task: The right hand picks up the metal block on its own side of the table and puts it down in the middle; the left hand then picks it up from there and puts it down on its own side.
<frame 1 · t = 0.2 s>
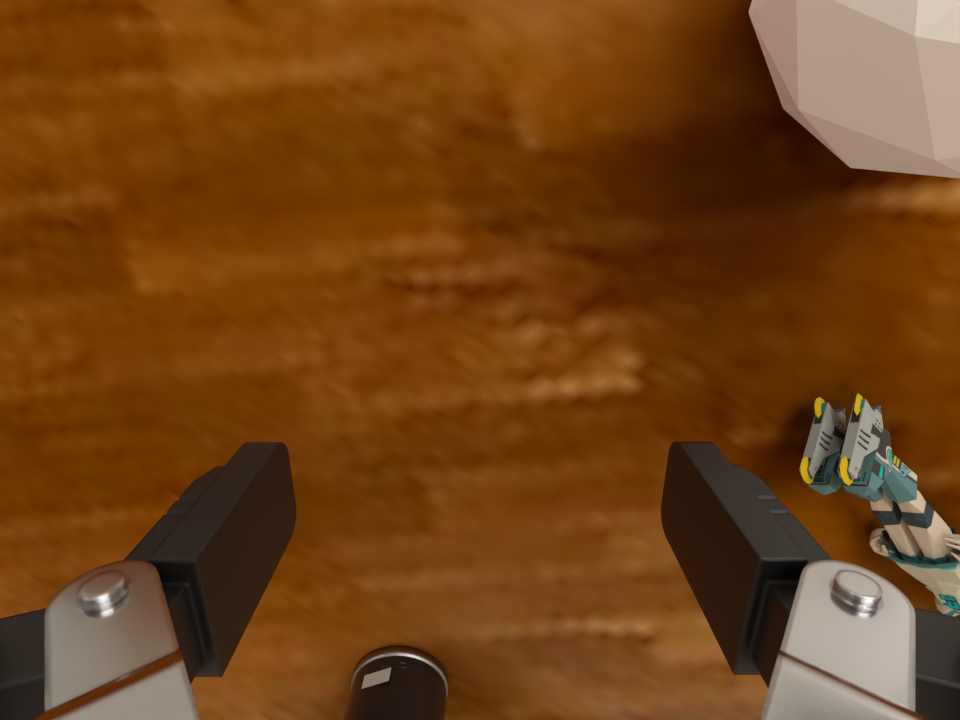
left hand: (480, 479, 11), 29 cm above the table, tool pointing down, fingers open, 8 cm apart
sphere: (860, 0, 33), on the table
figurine: (897, 508, 46), on the table
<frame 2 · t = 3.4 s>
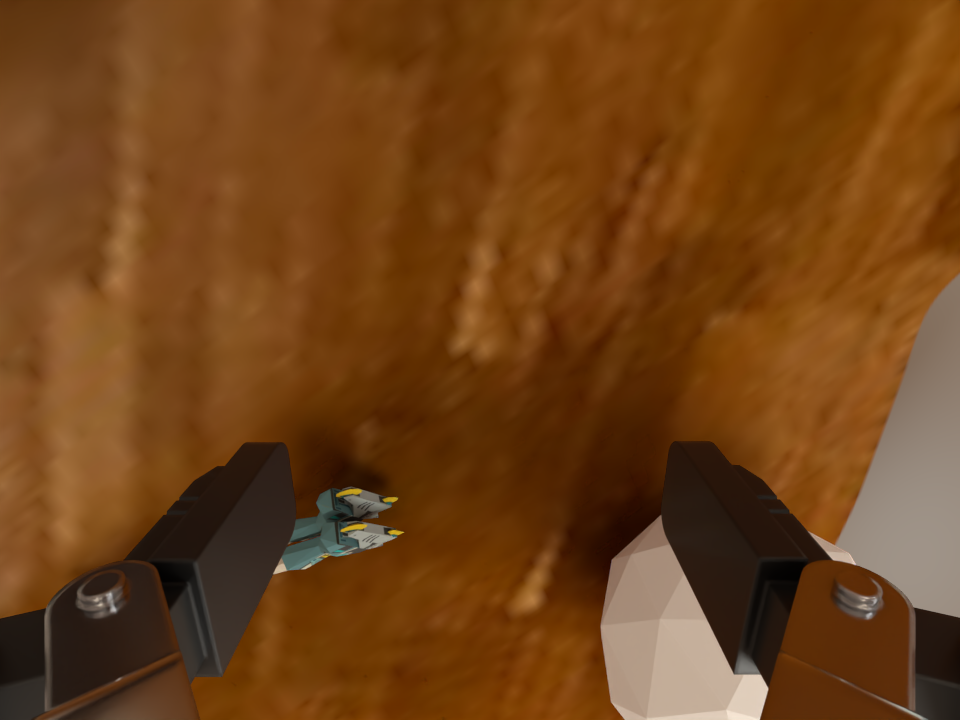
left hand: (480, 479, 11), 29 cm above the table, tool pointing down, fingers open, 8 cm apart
sphere: (688, 550, 48), on the table
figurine: (247, 545, 47), on the table
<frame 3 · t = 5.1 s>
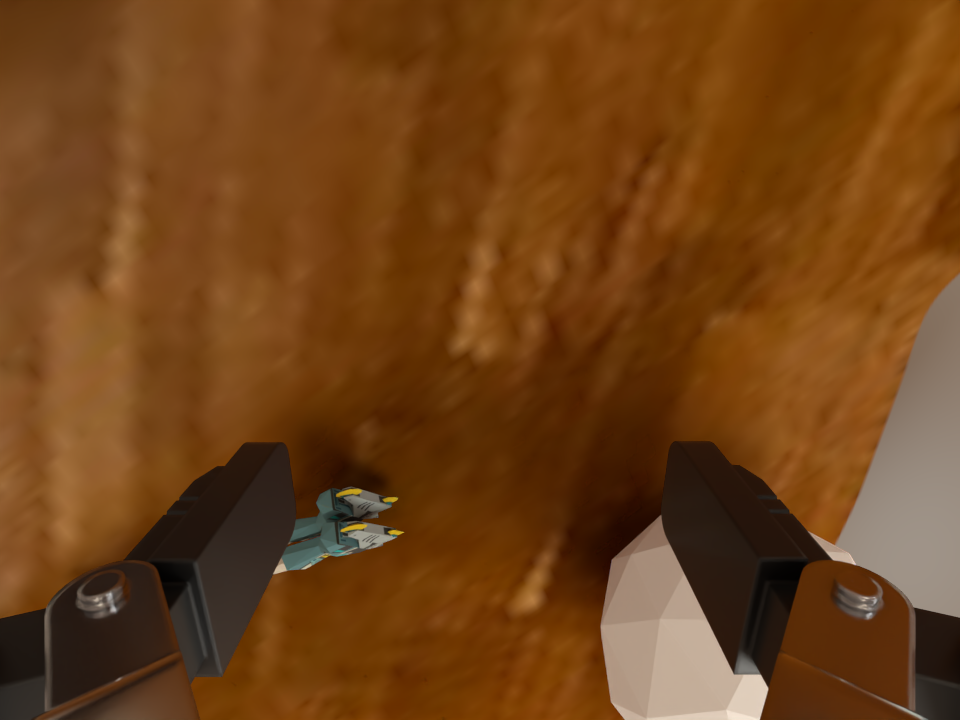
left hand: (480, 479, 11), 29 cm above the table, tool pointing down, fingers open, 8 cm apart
sphere: (688, 550, 48), on the table
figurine: (247, 545, 47), on the table
when the right hand's fingers open (1 cm above the table, at t = 7.1 s): block stays where it is, on the table.
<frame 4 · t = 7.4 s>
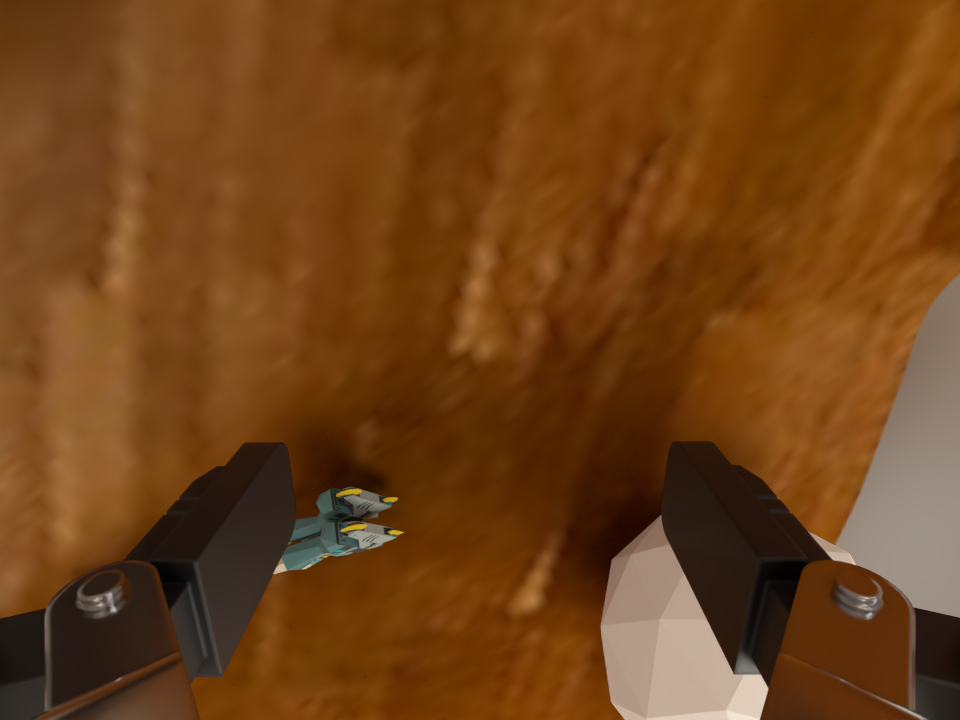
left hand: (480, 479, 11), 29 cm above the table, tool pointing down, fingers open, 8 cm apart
sphere: (688, 550, 48), on the table
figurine: (247, 545, 47), on the table
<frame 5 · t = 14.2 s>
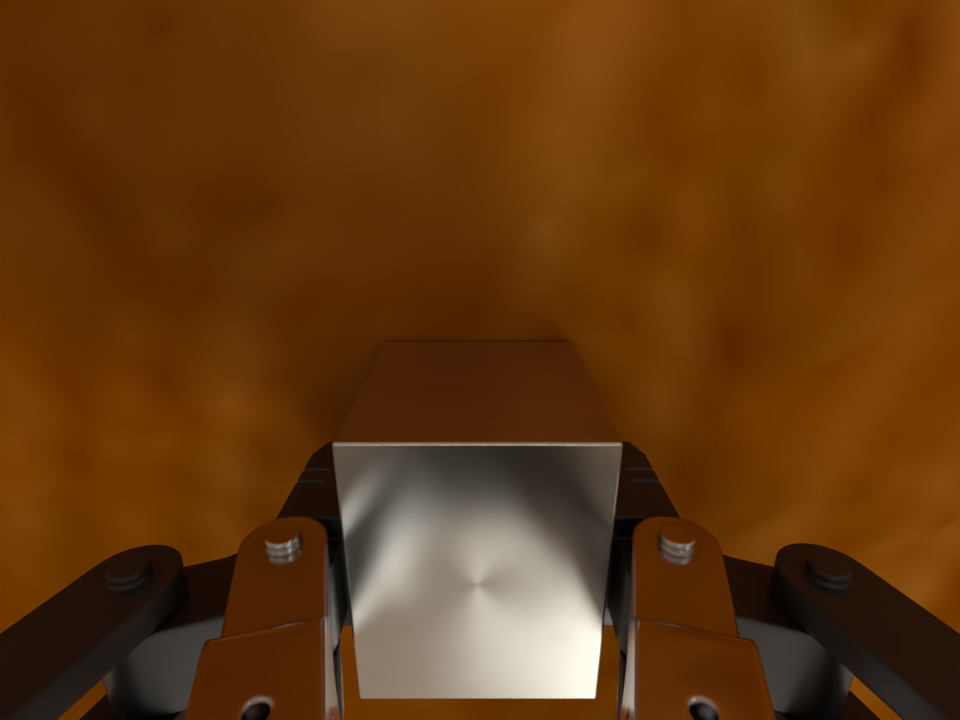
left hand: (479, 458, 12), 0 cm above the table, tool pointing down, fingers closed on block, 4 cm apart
block: (478, 442, 13), on the table, touching left hand
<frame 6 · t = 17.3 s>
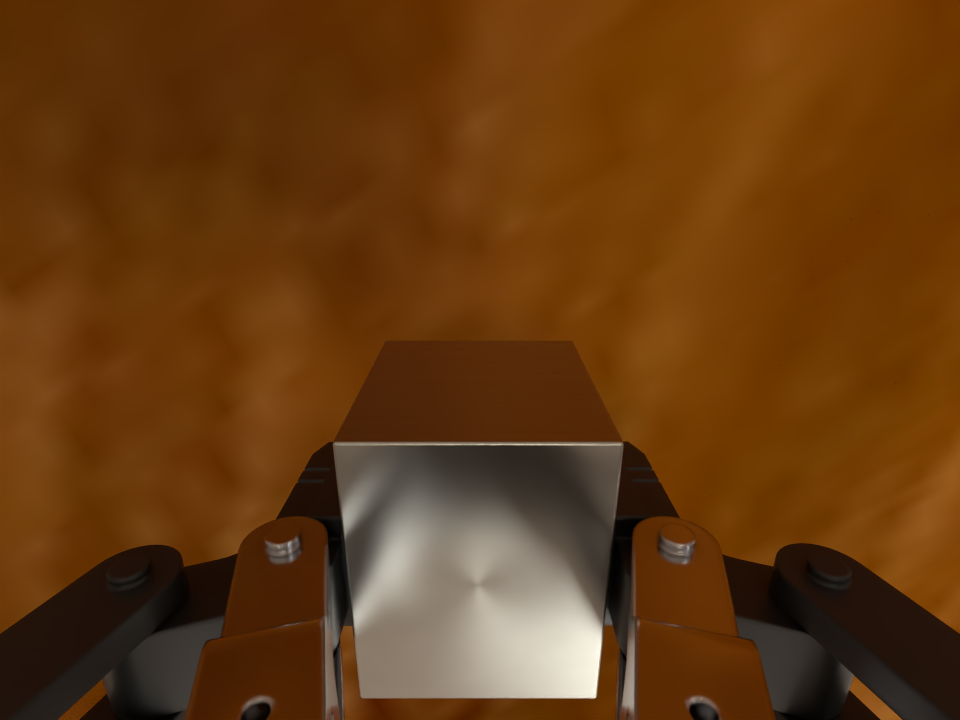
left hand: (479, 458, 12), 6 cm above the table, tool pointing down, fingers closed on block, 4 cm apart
block: (479, 441, 13), point 5 cm above the table, touching left hand
when the left hand's fingers open (1 cm above the table, at t = 20.4 s): block stays where it is, on the table.
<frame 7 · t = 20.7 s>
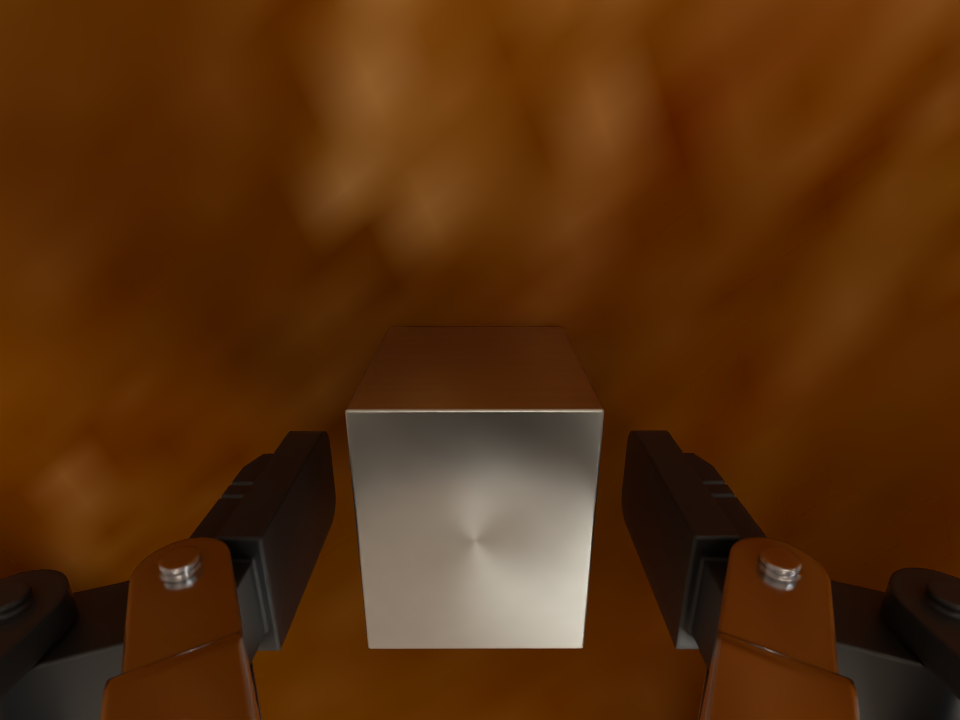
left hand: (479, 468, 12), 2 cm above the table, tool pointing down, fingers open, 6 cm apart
block: (476, 421, 13), on the table
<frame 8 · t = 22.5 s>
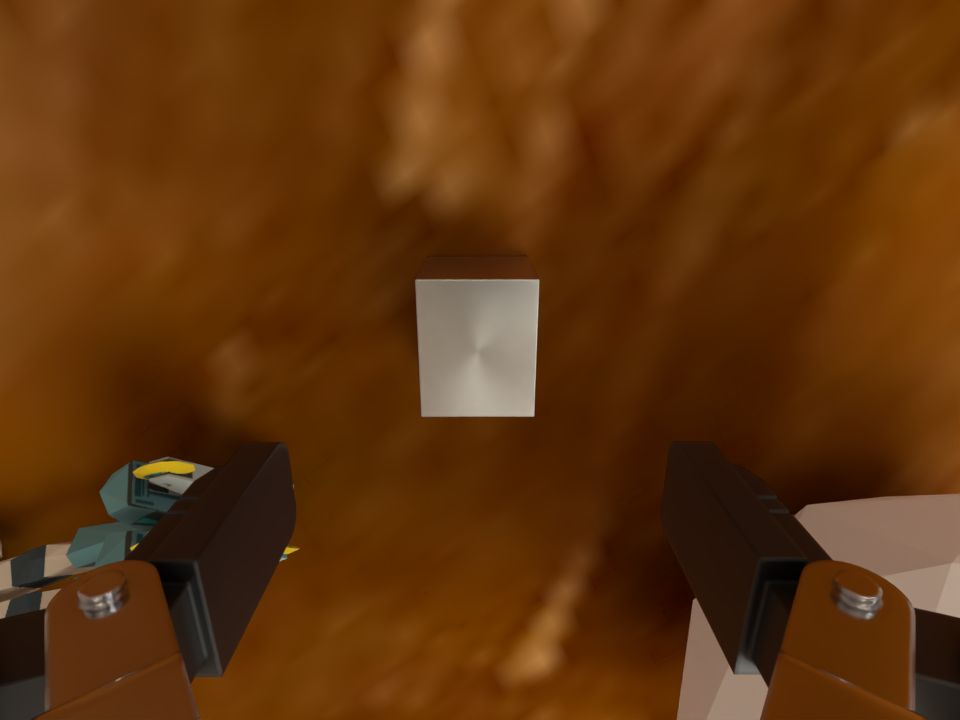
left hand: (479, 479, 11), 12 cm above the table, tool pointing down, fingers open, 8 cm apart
sphere: (813, 578, 27), on the table
block: (477, 315, 23), on the table
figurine: (43, 568, 27), on the table
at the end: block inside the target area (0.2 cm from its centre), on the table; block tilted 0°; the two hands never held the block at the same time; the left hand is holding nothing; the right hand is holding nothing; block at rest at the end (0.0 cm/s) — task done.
